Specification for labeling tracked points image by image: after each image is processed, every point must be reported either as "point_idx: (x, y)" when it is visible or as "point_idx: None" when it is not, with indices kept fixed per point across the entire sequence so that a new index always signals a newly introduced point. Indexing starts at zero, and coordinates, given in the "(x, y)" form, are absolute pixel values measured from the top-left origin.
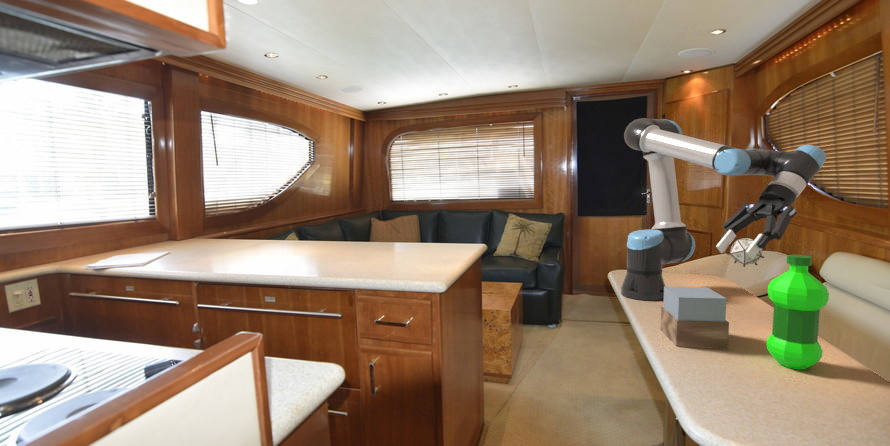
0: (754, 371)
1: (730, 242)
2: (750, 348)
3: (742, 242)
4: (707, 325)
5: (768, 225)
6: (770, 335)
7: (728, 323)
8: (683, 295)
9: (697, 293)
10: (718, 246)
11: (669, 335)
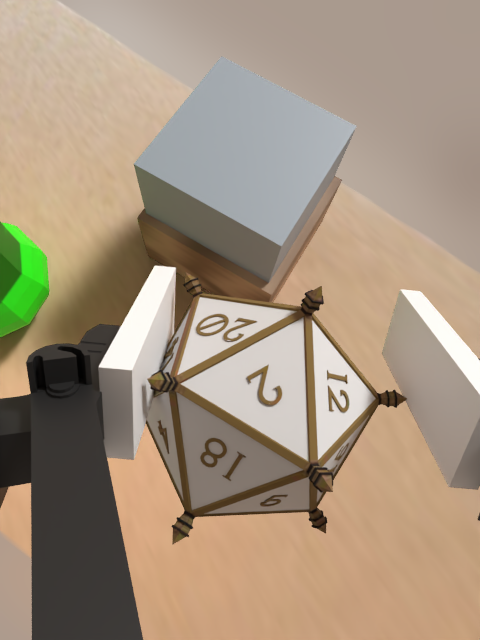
0: (36, 187)
1: (416, 412)
2: (120, 308)
3: (249, 315)
4: None
5: (57, 486)
6: (25, 244)
7: (138, 217)
8: (232, 84)
9: (228, 139)
10: (401, 292)
11: None
